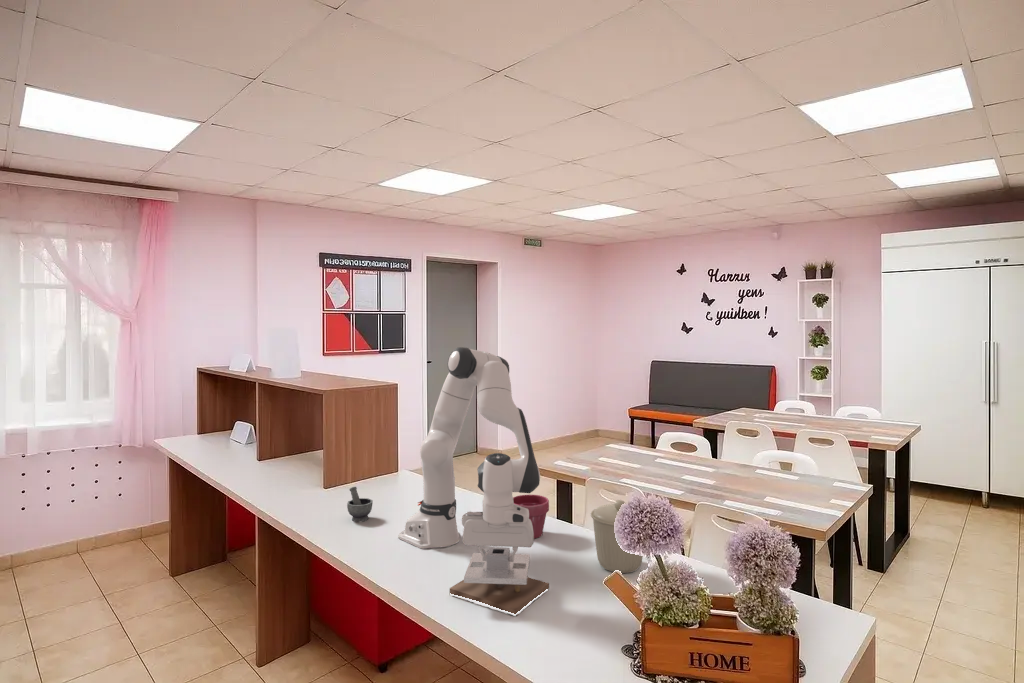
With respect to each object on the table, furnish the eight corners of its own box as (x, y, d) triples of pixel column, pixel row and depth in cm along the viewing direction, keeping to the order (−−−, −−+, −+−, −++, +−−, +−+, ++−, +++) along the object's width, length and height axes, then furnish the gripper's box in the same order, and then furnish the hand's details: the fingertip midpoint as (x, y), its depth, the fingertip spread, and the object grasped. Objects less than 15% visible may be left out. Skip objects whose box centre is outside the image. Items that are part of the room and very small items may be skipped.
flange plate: (463, 582, 154) (463, 562, 154) (473, 557, 171) (473, 539, 171) (526, 584, 153) (526, 564, 153) (529, 559, 170) (529, 541, 170)
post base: (449, 595, 161) (449, 565, 161) (486, 571, 176) (486, 544, 176) (515, 616, 149) (515, 584, 149) (548, 589, 164) (548, 560, 164)
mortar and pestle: (377, 519, 224) (377, 488, 223) (356, 525, 217) (356, 494, 216) (361, 512, 231) (361, 483, 231) (340, 518, 224) (340, 488, 224)
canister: (659, 565, 181) (659, 499, 180) (630, 585, 167) (630, 513, 166) (610, 550, 193) (610, 488, 192) (579, 567, 179) (579, 501, 178)
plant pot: (510, 527, 214) (510, 493, 214) (547, 527, 214) (547, 493, 214) (510, 542, 200) (510, 505, 200) (550, 542, 200) (550, 505, 200)
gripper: (459, 515, 159) (460, 564, 160) (533, 517, 157) (533, 566, 158) (463, 507, 165) (464, 554, 166) (534, 509, 164) (534, 557, 164)
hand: (498, 560), depth 162 cm, fingers closed on flange plate, 6 cm apart
